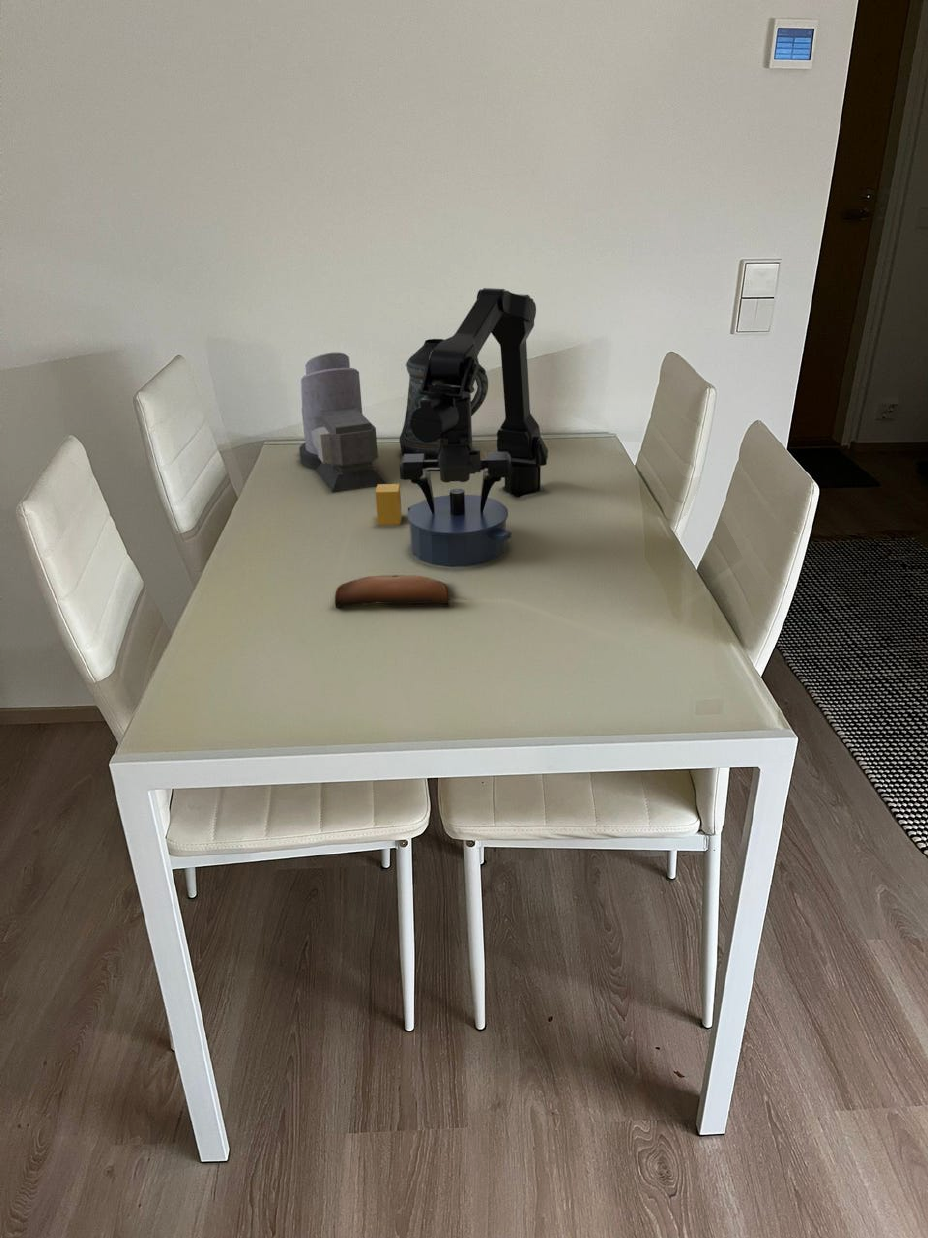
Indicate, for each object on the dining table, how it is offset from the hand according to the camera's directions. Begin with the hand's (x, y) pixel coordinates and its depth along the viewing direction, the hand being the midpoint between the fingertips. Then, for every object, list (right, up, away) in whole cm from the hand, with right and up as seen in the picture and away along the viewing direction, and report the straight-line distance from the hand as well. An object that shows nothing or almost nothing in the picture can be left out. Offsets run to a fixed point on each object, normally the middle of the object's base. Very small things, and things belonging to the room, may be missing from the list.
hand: (457, 512), depth 167 cm
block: (-13, 0, +15) cm, 20 cm away
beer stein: (-4, +19, +51) cm, 55 cm away
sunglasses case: (-10, -15, -13) cm, 22 cm away
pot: (0, -6, +3) cm, 7 cm away
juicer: (-26, +15, +45) cm, 53 cm away
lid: (0, -1, 0) cm, 1 cm away
